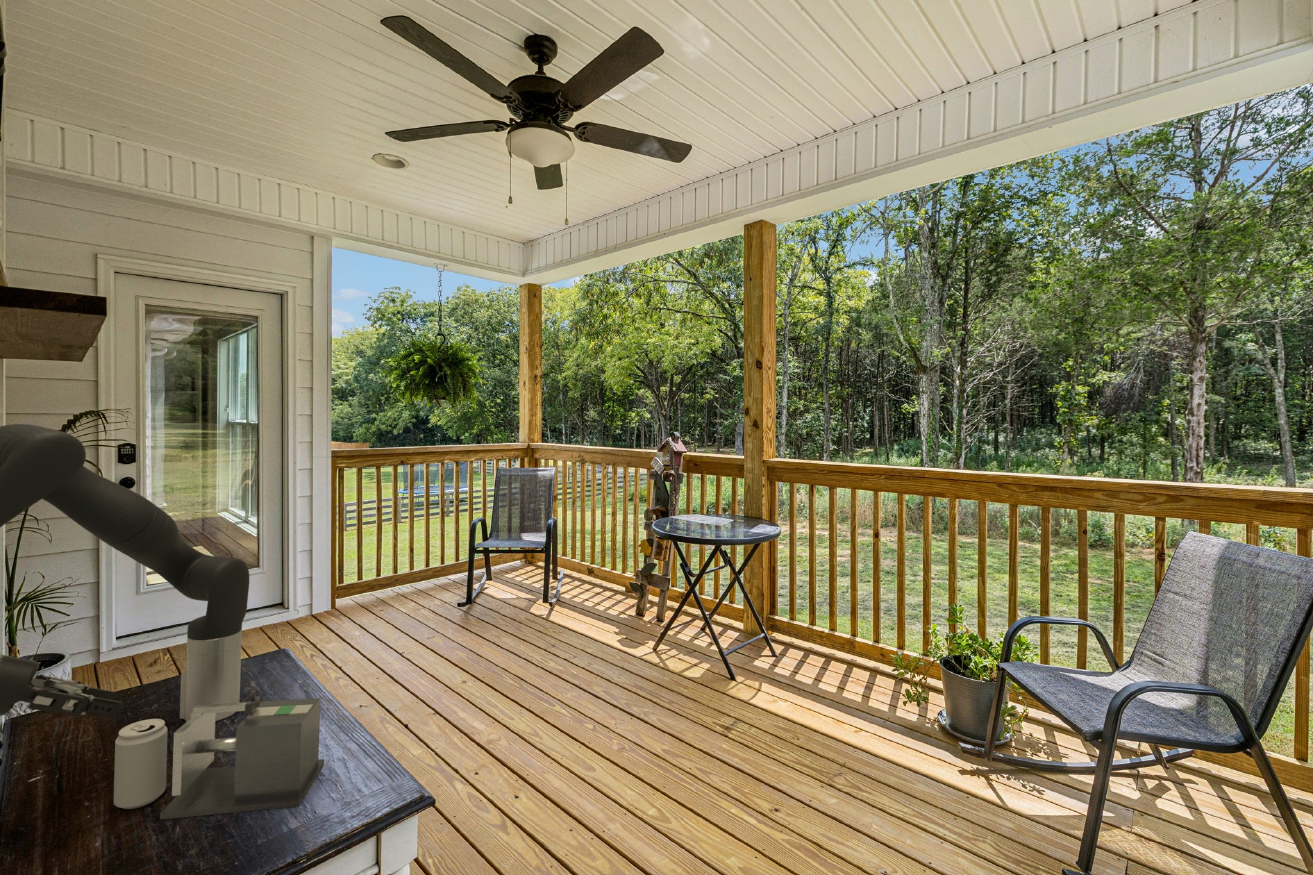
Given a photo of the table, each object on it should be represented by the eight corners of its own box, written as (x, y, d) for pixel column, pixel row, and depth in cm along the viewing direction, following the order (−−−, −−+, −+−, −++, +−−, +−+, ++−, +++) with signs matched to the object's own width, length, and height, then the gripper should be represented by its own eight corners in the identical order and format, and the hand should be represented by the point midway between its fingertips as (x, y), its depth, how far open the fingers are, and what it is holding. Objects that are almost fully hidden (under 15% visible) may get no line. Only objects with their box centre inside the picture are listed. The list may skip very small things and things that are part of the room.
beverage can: (134, 815, 91) (136, 739, 91) (102, 808, 92) (104, 733, 92) (175, 790, 97) (177, 719, 97) (145, 784, 98) (147, 714, 98)
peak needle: (244, 714, 96) (245, 694, 96) (253, 705, 99) (253, 687, 99) (251, 713, 97) (252, 694, 97) (259, 705, 99) (260, 686, 99)
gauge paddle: (171, 795, 91) (174, 721, 91) (206, 760, 101) (208, 693, 101) (236, 790, 93) (238, 717, 93) (264, 755, 103) (266, 690, 103)
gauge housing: (160, 819, 90) (162, 734, 90) (202, 774, 102) (204, 699, 102) (298, 806, 94) (301, 725, 94) (324, 764, 106) (326, 692, 106)
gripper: (-1, 661, 79) (138, 687, 89) (-1, 647, 88) (125, 672, 98) (-43, 720, 76) (105, 741, 86) (-39, 699, 85) (95, 720, 95)
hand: (116, 704), depth 92 cm, fingers open, 8 cm apart
